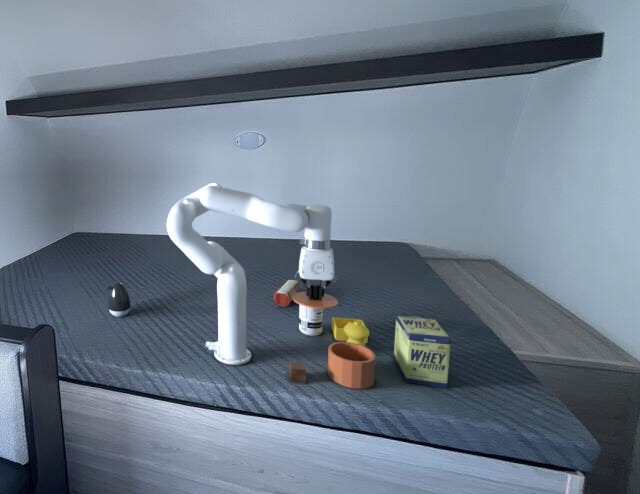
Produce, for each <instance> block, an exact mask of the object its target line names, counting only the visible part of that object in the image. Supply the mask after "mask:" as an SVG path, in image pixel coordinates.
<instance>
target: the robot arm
mask: <svg viewBox="0 0 640 494" xmlns="http://www.w3.org/2000/svg"><path fill="white" fill-rule="evenodd" d="M209 211H212V212H216V213H219V214H224V215H228V216H231V217H232V216H233V217H236V218H240V219H244V220H247V221H250V222H253V223H257V224H260V225H262V226H266V227H269V228H273V229H276V230H281V231H285V232H290V233H300V232H302V231H303V230H304V236H303V239H299V243H298V244H300V245H302V246H301V249H300V254H299V261H298V270H297V271H296V273H295V275H294V279H295V280H296V281H298V282H301V283H302V284H303V285H304V286H305V287H306V288H305V292H306V296H308V298H309V300H311V299H312V287H311V284H312V281H319V300H322V297H324V294H325V289H326V288H327V287H328V286H329V285H330V284H332V283H336V282H337V281H338V278H337V275H336V274H335V255H334V254H335V253H334V249H333V248H331V237H332V235H331V233H332V212H333V211H332V208H331V207H329V206H328V205H321V204H312V205H305V204H304V205H303V204H297V203H288V204H285V205H281V204H277V203H274V202H271V201H269V200H265V199H263V198H261V197H259V196H258V195H256V194H254V193H250V192H245V191H240V190H236V189H232V188H227V187H223V186H222V185H221V184H219V183H215V182H211V183H209V184H206V185H204V186H202V187H201V188H198V190H196V191H193V192H192V193H190V194H188V195H187V196H185V197H182V198H180V199H179V200H178V201H176V203H175V204H174V205H173V206H172V207H171V208H170V211H169V212H168V215H167V218H166V219H167V220H166V231H167V235H168V236H169V238H170V240H171V241H172V242H173V243H174V244H175V246H176V247H177V248H178V249H180V251H182V253H184V255H185V256H186V257H187V258H188V259H189V260H190V261H191V262H192V263H193V264H194V265H195V266H196V267H197V268H198V269H199V270H200V271H201V272H202V273H203V274H206V275H214V276H215V277H216V278H217V283H216V293H217V325H218V326H217V327H218V328H217V329H218V331H217V332H218V339H217V341H214V342H213V341H205V348H208V351H213V353H214V354H213V355H214V357H215V358H216V360H218V362H220V363H223V364H225V365H230V366H241V365H246V364H248V363H249V362H250V361H251V359H252V353H251V351H250V350H249V349H248V348H247V292H248V290H247V287H248V285H247V277H246V273H245V269H244V268H243V266H242V265H241V264H240V263H239V262H238V261H237V260H236V259H235V258H234V256H232V255H231V254H230V253H229V252H228V251H227V250H226V249H225V248H224V246H221V245H220V244H219V243H217V242H215V241H211V240H209V241H208V240H207V239H205V238H204V236H202V235H201V234H200V233H199V232H198V231H197V230H195V228H194V226H193V222H194V221H195V219H196V218H198V217H199V216H202V215H204V214H205V213H207V212H209Z"/></svg>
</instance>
